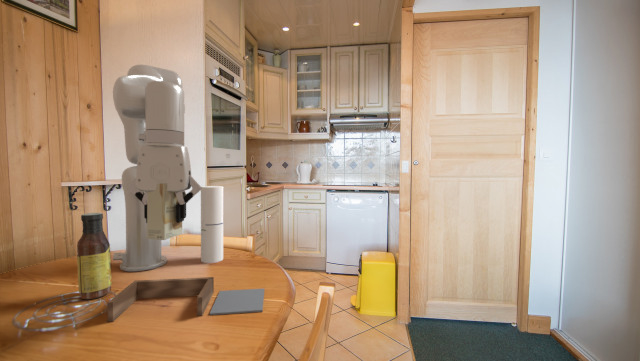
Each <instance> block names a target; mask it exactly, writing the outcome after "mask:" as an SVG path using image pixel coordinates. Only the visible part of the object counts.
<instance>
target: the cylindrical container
mask: <svg viewBox="0 0 640 361" xmlns="http://www.w3.org/2000/svg"><path fill="white" fill-rule="evenodd" d="M201 188H202V190H201V191H200V262H201V263H203V264H214V263H219V262H222V261H223V260H224V186H222V185H221V186H220V185H205V186H201Z"/></svg>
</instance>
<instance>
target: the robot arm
mask: <svg viewBox="0 0 640 361" xmlns="http://www.w3.org/2000/svg"><path fill="white" fill-rule="evenodd" d="M112 98H113V103H114V104H113V105H114V108H115V110H116V113H117V115H118V116H119V119H120V122H121V124H122V125H123V128H124V129H123V131H124V132H123V134H124V147H125V155H126V159H127V161H128V162H129V163H131V164H133V166H129V167H127V168H125V169H124V170H123V171H122V174H121V185H122V190H123V195H124V203H125V204H124V206H125V251H124V252H114V253H113V255H112V260H113V261H122V262H121V263H120V264H119V269H120V270H122V271H125V272H143V271H149V270H153V269H157V268H160V267H162V266H164V265H165V264H167V262H168V257H167V256H163V255H162V240H156V239H147V197H148V192H152V191H155V190H156V185H157V183H159V184H160V183H166V184H167V191H168V192H175V194H176V196H177V199H178V205H176V222H177V223H180V222H182V223H183V222H184V221H185V219H186V218H187V203H189V201H191V200H192V199H193V198H194V197H195V196H196V195H197V194H199V193H200V192H201V190H202V188H201V187H202V186H201V185H200V184H199V183H198V181H197V180H195V179H194V177H193V176H192V168H191V160H190V155H189V149H188V147H186V146H185V114H186V110H185V109H186V108H185V92H184V88H183V81H182V79H181V76H180V75H179V74H178V72H176V71H173V70H170V69H165V68H160V67H156V66H151V65H148V64H135V65H132V66H131V67H130V68H129V69H128V71H127V74H126V75H122V76H119V77H118V78H117V79H116V80H115V82H114V85H113V88H112ZM189 189H191V190H190V191H189V192H187V193H186V191H187V190H189Z"/></svg>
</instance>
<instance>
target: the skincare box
mask: <svg viewBox="0 0 640 361" xmlns="http://www.w3.org/2000/svg"><path fill="white" fill-rule="evenodd" d="M176 205H178V199H177V196H176V194H175V192H168V191H167V184H166V183H160V184H159V183H157V185H156V190H155V191H152V192H148V197H147V239H156V240H161V241H166V240H168V239H172V238H175V237H178V236H181V235H183V221H182V222H180V223H177V222H176Z"/></svg>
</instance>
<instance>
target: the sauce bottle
mask: <svg viewBox="0 0 640 361" xmlns="http://www.w3.org/2000/svg"><path fill="white" fill-rule="evenodd" d="M103 219H104V214H103V212H89V213H83V214H81V216H80V220H81V222H82V235H81V237H80V238H79V239H78V241H77V244H76V249H77V250H76V251H77V255H76V261H77V262H76V263H77V282H78V283H77V284H78V293H79V297H80V299H82V300H94V299H95V300H96V299H99V298H101V297H104V296H106V295H109V293H111V291H112V284H113V281H112V264H111V261H112V260H111V244H110V242H109V240H108V238H107V236H106V234H105V232H104V228H103Z"/></svg>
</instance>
